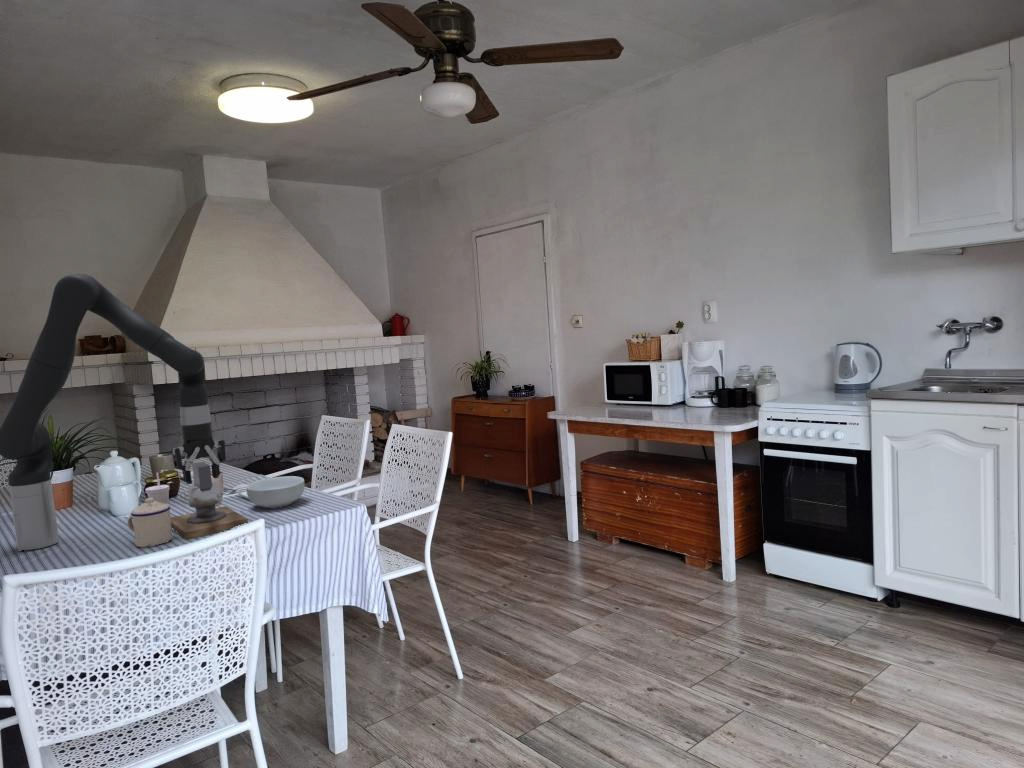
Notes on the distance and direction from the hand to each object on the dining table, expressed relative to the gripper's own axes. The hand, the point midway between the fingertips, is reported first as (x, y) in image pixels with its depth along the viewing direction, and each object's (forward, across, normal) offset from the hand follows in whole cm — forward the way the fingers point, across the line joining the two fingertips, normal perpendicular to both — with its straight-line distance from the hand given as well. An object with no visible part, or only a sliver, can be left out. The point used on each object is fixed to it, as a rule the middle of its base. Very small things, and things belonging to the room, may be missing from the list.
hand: (202, 480), depth 193 cm
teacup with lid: (+13, -16, -1) cm, 20 cm away
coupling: (+6, 0, 0) cm, 7 cm away
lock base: (+13, 0, 0) cm, 13 cm away
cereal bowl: (+13, +23, +2) cm, 26 cm away
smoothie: (+13, -5, +20) cm, 24 cm away
